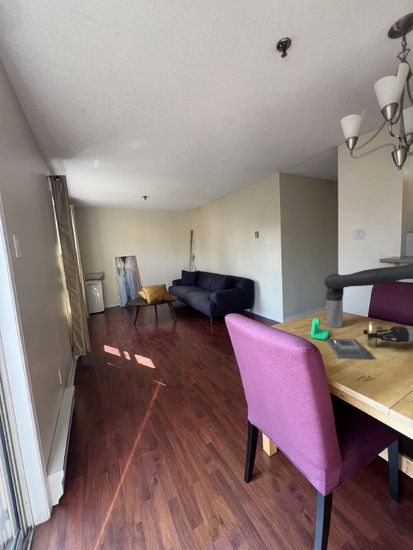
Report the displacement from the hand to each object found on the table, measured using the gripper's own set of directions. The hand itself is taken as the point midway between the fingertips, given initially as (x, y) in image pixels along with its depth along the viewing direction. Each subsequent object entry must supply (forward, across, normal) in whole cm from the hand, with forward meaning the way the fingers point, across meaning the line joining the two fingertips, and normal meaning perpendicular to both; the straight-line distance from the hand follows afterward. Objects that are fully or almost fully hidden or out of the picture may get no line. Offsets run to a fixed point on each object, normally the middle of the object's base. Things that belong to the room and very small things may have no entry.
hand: (366, 333), depth 116 cm
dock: (+10, +5, +7) cm, 13 cm away
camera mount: (+18, -12, +7) cm, 23 cm away
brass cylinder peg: (-3, 0, +7) cm, 7 cm away
